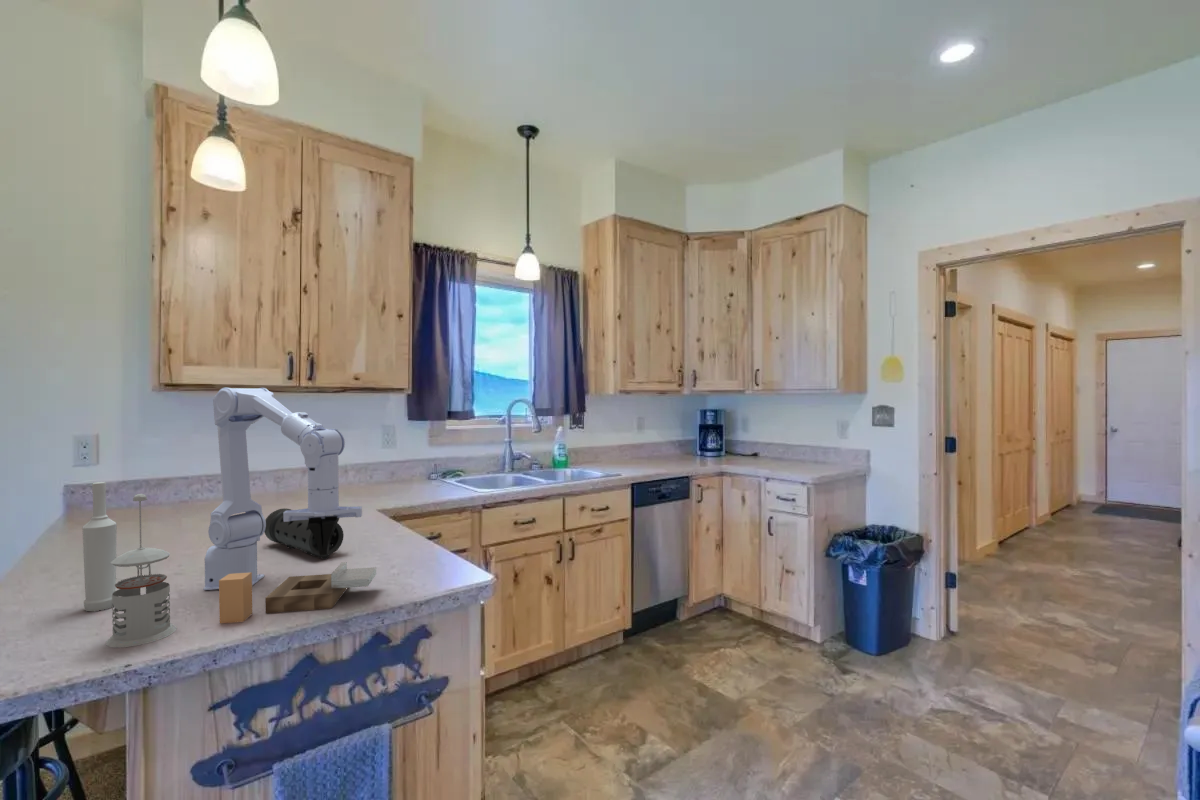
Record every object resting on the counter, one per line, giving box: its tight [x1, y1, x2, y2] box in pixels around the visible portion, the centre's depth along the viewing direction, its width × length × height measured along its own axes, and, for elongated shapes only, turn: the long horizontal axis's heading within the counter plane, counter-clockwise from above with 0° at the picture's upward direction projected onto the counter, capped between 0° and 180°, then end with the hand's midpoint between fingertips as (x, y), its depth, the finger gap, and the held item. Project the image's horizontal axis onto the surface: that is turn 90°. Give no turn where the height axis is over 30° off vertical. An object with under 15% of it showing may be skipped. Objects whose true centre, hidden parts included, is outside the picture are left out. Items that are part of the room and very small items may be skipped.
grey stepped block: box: [330, 561, 377, 589], centre depth 118 cm, size 7×8×3 cm
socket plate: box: [264, 573, 347, 614], centre depth 116 cm, size 12×13×3 cm
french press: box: [105, 493, 178, 648], centre depth 100 cm, size 10×12×25 cm
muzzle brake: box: [264, 507, 345, 560], centre depth 153 cm, size 10×28×10 cm, turn 53°
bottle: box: [81, 481, 118, 612], centre depth 113 cm, size 5×5×25 cm
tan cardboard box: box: [218, 572, 253, 624], centre depth 106 cm, size 4×4×8 cm
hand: (324, 553), depth 116 cm, fingers closed
